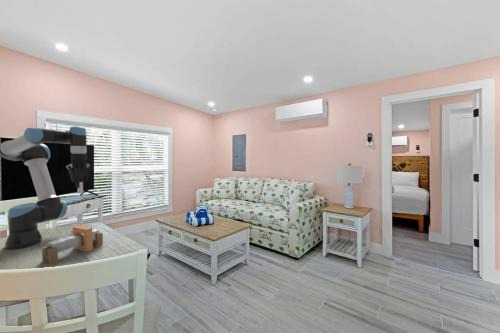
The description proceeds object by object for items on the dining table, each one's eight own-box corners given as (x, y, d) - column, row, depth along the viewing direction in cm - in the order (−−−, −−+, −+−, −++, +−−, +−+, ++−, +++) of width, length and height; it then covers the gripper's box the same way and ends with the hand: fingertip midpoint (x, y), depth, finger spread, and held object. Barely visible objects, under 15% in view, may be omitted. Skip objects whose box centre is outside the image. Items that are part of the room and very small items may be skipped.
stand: (42, 261, 106) (41, 247, 106) (95, 242, 130) (94, 231, 129) (50, 264, 104) (50, 250, 103) (102, 244, 127) (102, 232, 127)
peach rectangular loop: (73, 247, 121) (72, 226, 120) (79, 245, 124) (78, 225, 123) (87, 251, 117) (86, 229, 116) (92, 249, 119) (92, 228, 119)
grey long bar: (47, 252, 107) (46, 242, 107) (93, 237, 128) (93, 229, 127) (52, 254, 105) (52, 244, 105) (98, 238, 126) (98, 230, 125)
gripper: (69, 153, 119) (71, 195, 120) (94, 153, 131) (95, 191, 132) (61, 153, 121) (63, 194, 123) (86, 153, 133) (88, 191, 135)
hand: (80, 193), depth 127 cm, fingers closed
